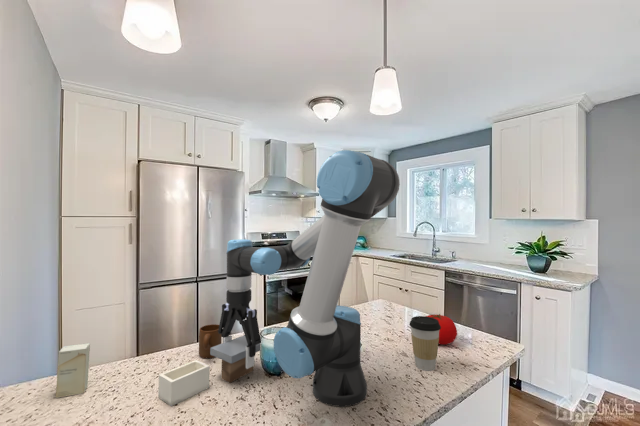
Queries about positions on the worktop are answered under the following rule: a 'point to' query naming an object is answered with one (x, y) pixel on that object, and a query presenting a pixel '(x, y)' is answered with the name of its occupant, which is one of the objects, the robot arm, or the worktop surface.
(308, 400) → the worktop surface
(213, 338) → the mug
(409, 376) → the worktop surface
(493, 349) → the worktop surface
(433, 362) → the coffee cup
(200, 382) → the white open box
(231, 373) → the block
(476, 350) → the worktop surface
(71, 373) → the skincare box
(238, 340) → the tile lid
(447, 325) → the tomato
